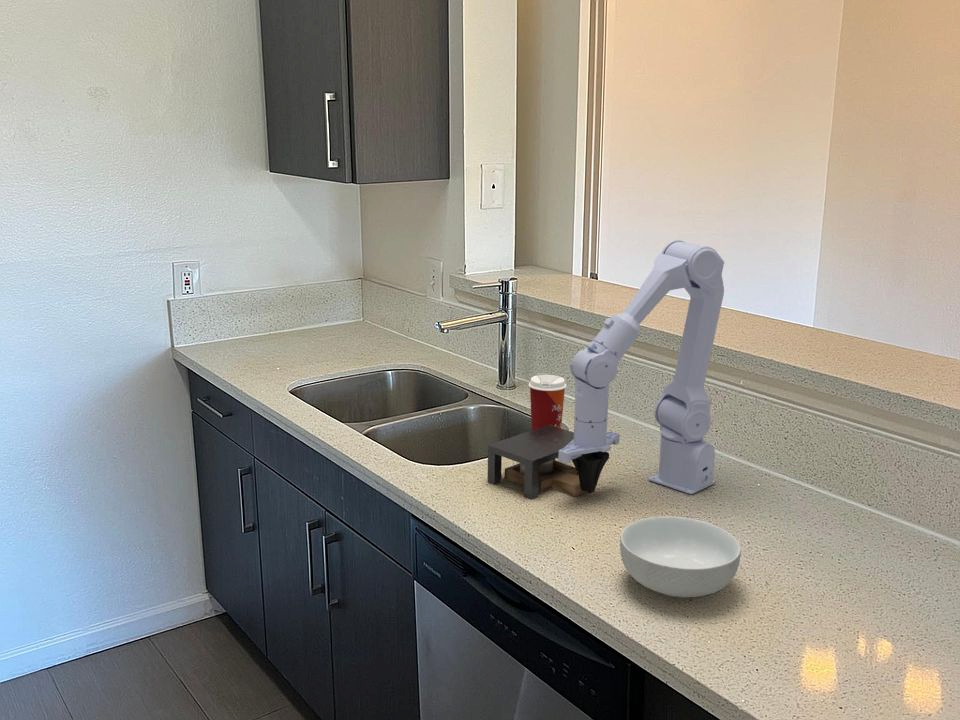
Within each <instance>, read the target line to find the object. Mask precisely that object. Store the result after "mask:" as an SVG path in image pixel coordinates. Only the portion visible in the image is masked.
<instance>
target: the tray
mask: <svg viewBox="0 0 960 720" xmlns="http://www.w3.org/2000/svg"><path fill="white" fill-rule="evenodd" d="M524 477H525V465H524V464H521V463H519V462H518V463H516V464H514V465H511V466H508V467H506V468H504V480H506V481H510V482H512V483H513V484H514V483H515V484H517V485H520V486H522V487H524ZM551 489H552V490H555V491H558V492H561V493H564V494H566V495H569V496H571V497H574V498H575V497H578V496H581V495H583V494H585V493H587V492H585V491H582V490H581V486H580V481H579V477H578V473H577V471H576V468H575V466H574V465H573V466H572V465H570V464H566V463H563V462H560V461H558V460H556V459H555V460H551V461H548V462H546V463H543V464H540V465H539V493H540V494H541V493H543V492H546V491H548V490H551Z"/></svg>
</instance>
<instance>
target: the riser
mask: <svg viewBox="0 0 960 720" xmlns="http://www.w3.org/2000/svg"><path fill="white" fill-rule="evenodd" d="M573 439H574V431H571V430H568V429H564V428H562V427H561V428H558V427H555V426H552V425H546V426H543V427H540V428H537V429H534V430H532V429H531V430H529V431H526V432H523V433H519V434H517V435H516V434H515V435H513V436H511V437H508V438H504V439H501V440H499V441H496V442H493V443H490V444H487V483H490V484H492V485H497V484H500V483H502V464H503V462H502V460H503V459H502V458H506V459H508V460H511V461H514V462H516V463H518V464H519V463H521V464H524V465H525V477H524V486H523V488H524V489H523V497H524V498H526V499H527V498H528V499H529V500H533V499H536V498H538V497H539V493H540V492H539V465H540V464H543V463H546V462H548V461H551V460H555V461H556V459H558V456H559V450H561V449H563V448H564V447H566V446H567V445H568V444H569V443H570V442H571V441H572V440H573Z"/></svg>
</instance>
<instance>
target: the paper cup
mask: <svg viewBox="0 0 960 720" xmlns="http://www.w3.org/2000/svg"><path fill="white" fill-rule="evenodd" d="M565 380H566V379H565V378H564V377H562V376H558V375H555V374H554V375H553V374H537V375H534V376H532V377H531V378H530V381H529V383H528V387H529V392H530V393H529V395H530V416H531V417H530V420H531V424H530V425H531V426H530V427H531V430H534V429H537V428H540V427H543V426H546V425H552V426H555V427H558V428H562V424H563V414H564V413H563V411H564V402H565V390H566V388H567V383H566V381H565Z"/></svg>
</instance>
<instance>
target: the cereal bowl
mask: <svg viewBox="0 0 960 720" xmlns="http://www.w3.org/2000/svg"><path fill="white" fill-rule="evenodd" d="M619 542H620V543H619V547H620V548H619V551H620V557H621V561H622V564H623V565H624V568H625V569H626V571H627V573H628V574H629V575H630V576H631V577H632V578H633V579H634V580H635V581H637V582H638V583H639V584H641V586H644V587H645V588H648V589H649V590H651V591H654V592H656V593H659V594H662V595H664V596H668V597H672V598H682V599H683V598H685V599H686V598H688V599H689V598H698V597H704V596H708V595H712V594H714V593H717V592H719V591H720V590H722V589H724V588H725V587H726V586H728V584H729V583H730V582H732V580H733V579H734V578H735V576H736V575H737V572H738V568H739V567H740V562H741V555H742V547H741V544H740V542H739V541H738V539H737V538H736V537H734V536H733V534H732V533H729V532H728V531H726V530H725V529H723V528H721V527H719V526H717V525H715V524H712V523H710V522H707V521H703V520H698V519H695V518H689V517H684V516H683V517H682V516H671V515H667V516H666V515H665V516H663V515H662V516H651V517H646V518H641V519H639V520H636V521H633V522H631V523H629V524H628V525H626V527H625V528H624V529H623V530H622V531H621V534H620V540H619Z"/></svg>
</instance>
